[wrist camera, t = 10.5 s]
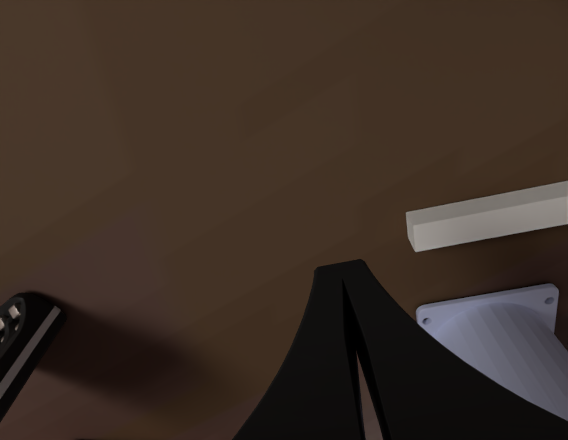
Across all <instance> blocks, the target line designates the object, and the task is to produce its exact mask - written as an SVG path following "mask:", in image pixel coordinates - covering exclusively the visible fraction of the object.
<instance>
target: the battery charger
mask: <svg viewBox="0 0 568 440" xmlns="http://www.w3.org/2000/svg"><path fill="white" fill-rule="evenodd" d="M66 319H67V317H66V315H65V314H64V313H62V312H61V309H59V308H58V307H56V306H52V305H51V304H49V303H48V302H47V301H45V300H43V299H41V298H39V297H38V296H35V295H32V294H29V293H18V294H16V295H14V296H13V297H11V298H10V299H9V300H7V301H6V302H5V303H4V304H3V305H2V306H0V422H1V421H2V419H3V418H4V416H5V414H6V413H7V411H8V410H9V408H10V407H11V405H12V404H13V402H14V400H15V399H16V397H17V396H18V394H19V393H20V391H21V390H22V388H23V386H24V385H25V383H26V382H27V380H28V379H29V377H30V375H31V374H32V372H33V371H34V369H35V367H36V366H37V364H38V363H39V361H40V359H41V358H42V356H43V355H44V353H45V352H46V350H47V349H48V347H49V346H50V344H51V343H52V341H53V340H54V338H55V337H56V335H57V334H58V332H59V331H60V329H61V328H62V326H63V325H64V323H65V322H66Z"/></svg>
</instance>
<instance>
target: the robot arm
mask: <svg viewBox="0 0 568 440" xmlns="http://www.w3.org/2000/svg"><path fill="white" fill-rule="evenodd" d="M558 296H559V290H558V288H557V287H556V286H555V285H554V284H542V285H536V286H531V287H525V288H519V289H513V290H507V291H501V292H495V293H490V294H484V295H478V296H472V297H466V298H460V299H454V300H449V301H443V302H437V303H431V304H425V305H422V306H420V307H418V309H417V310H416V317H417V322H416V321H414V320H413V319H412V318H411V317H410V316H409V315H408V314H407V313H406V312H405V311H404V310H403V309H402V308H401V307H400V306H399V305H398V304H397V302H396V301H395V300H394V299H393V298H392V297H391V296H390V295H389V294H388V293H387V291H386V290H385V289H384V288H383V287H382V285H381V284H380V283H379V282H378V280H377V279H376V278H375V276H374V275H373V274H372V272H371V271H370V269H369V268H368V266H367V265H366V263H365V261H363V260H361V259H358V260H353V261H347V262H342V263H337V264H331V265H326V266H320V267H317V268H316V270H315V271H314V279H313V285H312V289H311V293H310V297H309V300H308V303H307V306H306V310H305V313H304V316H303V319H302V321H301V324H300V326H299V329H298V331H297V334H296V336H295V338H294V341H293V343H292V345H291V348H290V350H289V352H288V354H287V356H286V358H285V360H284V362H283V364H282V366H281V367H280V369H279V371H278V373H277V375H276V376H275V378H274V380H273V381H272V383H271V385H270V386H269V388H268V390H267V391H266V393H265V395H264V396H263V398H262V399H261V401H260V402H259V404H258V405H257V407H256V408H255V409H254V411H253V412H252V414H251V415H250V416H249V418H248V419H247V420H246V422H245V423H244V424H243V426H242V427H241V428H240V430H239V431H238V433H237V434H236V435H235V436H234V438H233V439H232V440H366V438H365V431H364V423H363V413H362V403H361V393H360V383H359V373H358V363H357V354H358V358H359V361H360V364H361V367H362V370H363V374H364V377H365V380H366V383H367V386H368V390H369V393H370V396H371V399H372V403H373V406H374V409H375V412H376V415H377V419H378V422H379V425H380V429H381V433H382V437H383V440H568V351H567V350H566V349H565V347H564V346H563V345H562V344H561V342H560V341H559V340H558V339H557V337H556V336H555V335H554V329H555V321H556V312H557V304H558ZM549 297H550V298H549ZM547 298H549V299H547ZM546 299H547V300H546ZM425 318H428V319H426V320H424V319H425ZM356 351H357V353H356Z"/></svg>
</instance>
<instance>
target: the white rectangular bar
mask: <svg viewBox="0 0 568 440" xmlns="http://www.w3.org/2000/svg"><path fill="white" fill-rule="evenodd" d="M406 220H407V231H408V238H409V240H410V242H411V244H412V246H413V248H414V250H415V252H418V251H424V250H429V249H434V248H440V247H445V246H451V245H456V244H462V243H467V242H472V241H478V240H483V239H489V238H494V237H500V236H505V235H510V234H516V233H521V232H527V231H532V230H538V229H543V228H548V227H554V226H559V225H565V224H568V181H564V182H559V183H554V184H549V185H544V186H539V187H534V188H528V189H523V190H518V191H513V192H508V193H503V194H498V195H492V196H487V197H482V198H477V199H472V200H467V201H462V202H456V203H451V204H446V205H441V206H436V207H431V208H426V209H421V210H415V211H410V212H406Z"/></svg>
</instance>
